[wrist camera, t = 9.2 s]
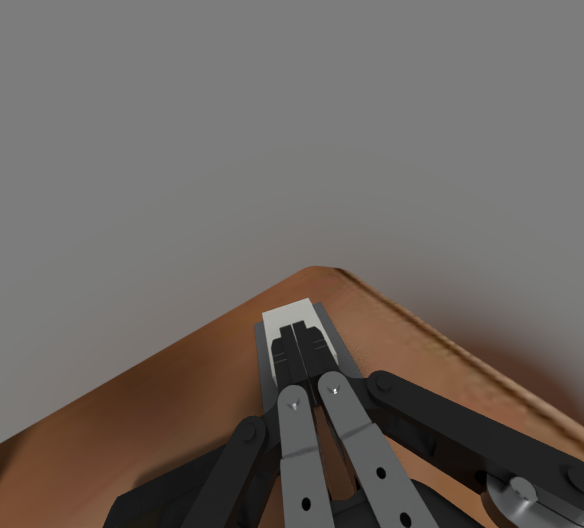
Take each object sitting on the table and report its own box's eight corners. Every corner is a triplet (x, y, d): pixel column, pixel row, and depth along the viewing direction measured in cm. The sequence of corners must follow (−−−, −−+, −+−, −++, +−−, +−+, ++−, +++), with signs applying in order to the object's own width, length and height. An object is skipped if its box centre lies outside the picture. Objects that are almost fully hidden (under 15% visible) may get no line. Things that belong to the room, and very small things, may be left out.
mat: (367, 386, 25) (367, 383, 25) (265, 425, 24) (264, 422, 24) (320, 304, 39) (320, 301, 39) (255, 326, 38) (254, 324, 38)
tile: (336, 353, 27) (308, 297, 37) (272, 376, 26) (262, 313, 36) (338, 365, 28) (310, 308, 38) (277, 388, 27) (266, 323, 37)
